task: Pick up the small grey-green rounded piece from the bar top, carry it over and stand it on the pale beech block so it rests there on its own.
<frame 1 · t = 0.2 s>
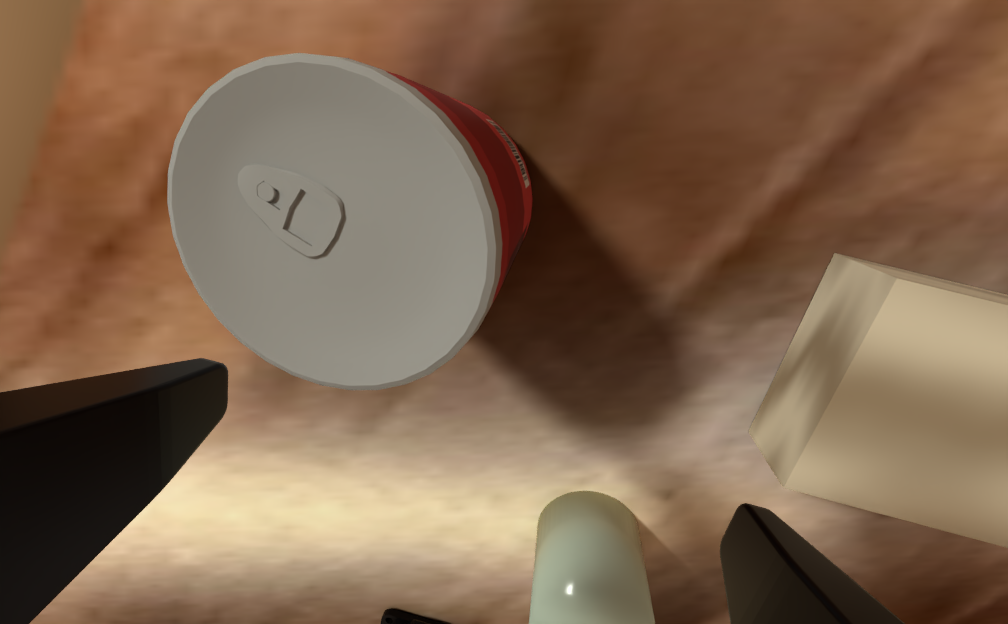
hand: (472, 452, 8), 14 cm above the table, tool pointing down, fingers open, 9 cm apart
grey-green rounded piece: (587, 531, 26), on the table
beech block: (889, 374, 21), on the table
canned food: (446, 194, 21), on the table
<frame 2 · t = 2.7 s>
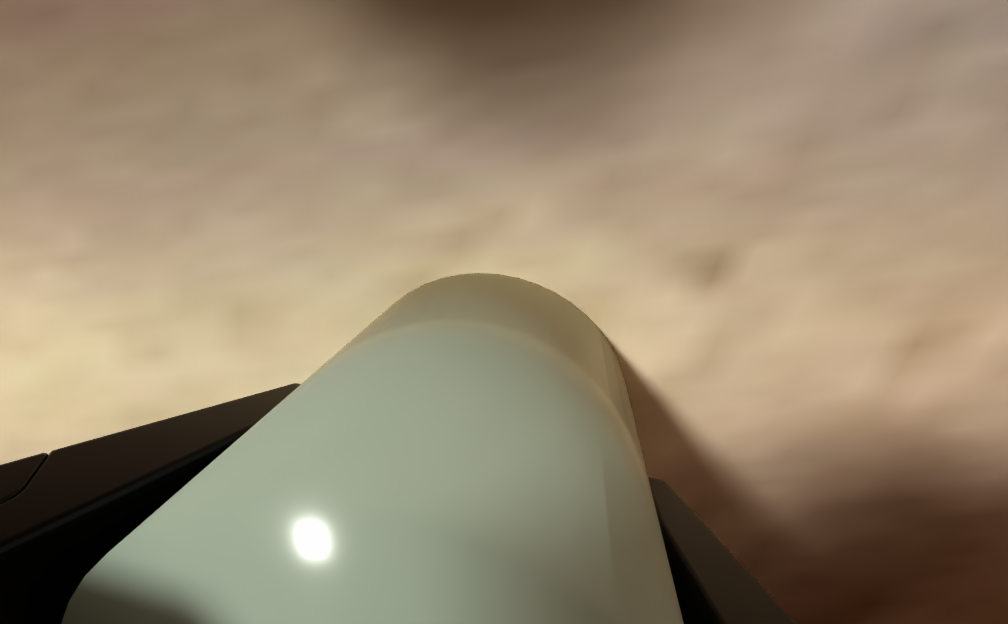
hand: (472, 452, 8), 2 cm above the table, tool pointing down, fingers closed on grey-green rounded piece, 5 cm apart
grey-green rounded piece: (486, 406, 10), on the table, touching gripper
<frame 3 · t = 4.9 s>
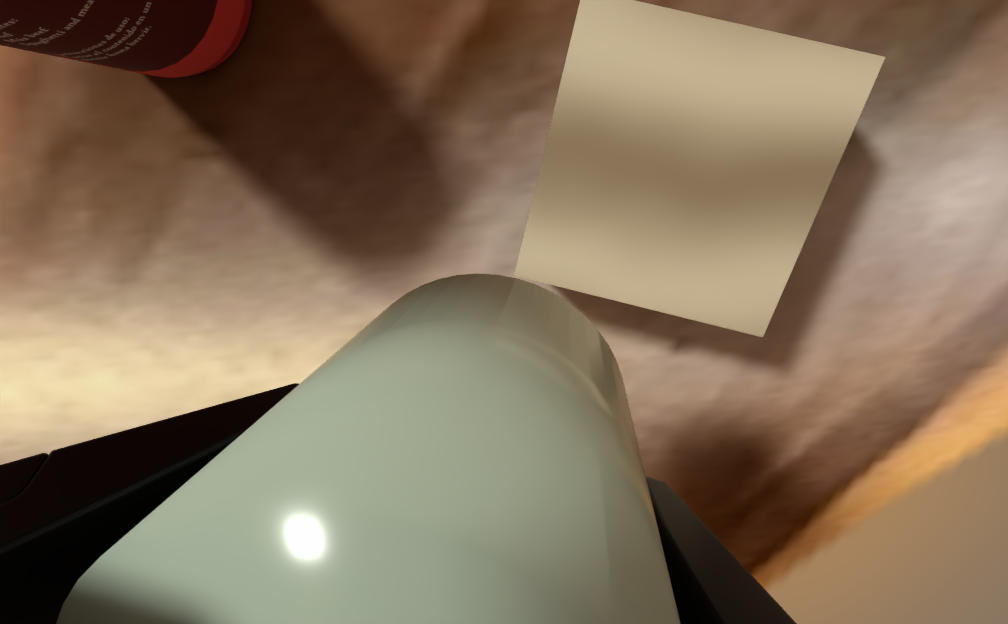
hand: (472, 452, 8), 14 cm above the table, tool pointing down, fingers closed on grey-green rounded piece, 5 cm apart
grey-green rounded piece: (485, 407, 9), point 12 cm above the table, touching gripper
beech block: (656, 174, 19), on the table
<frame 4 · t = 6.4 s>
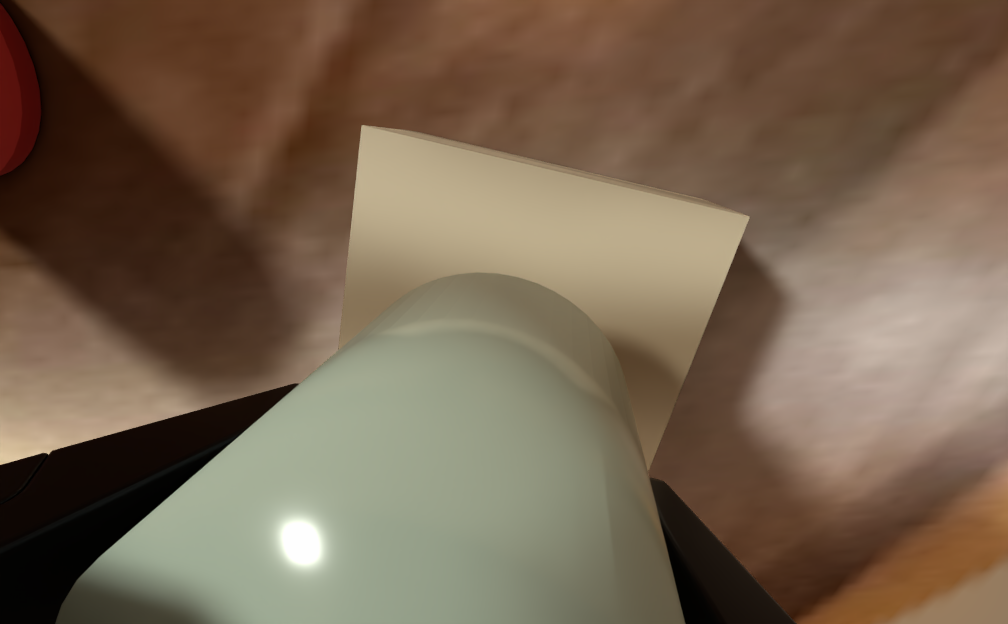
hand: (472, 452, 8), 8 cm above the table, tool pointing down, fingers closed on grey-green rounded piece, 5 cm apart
grey-green rounded piece: (486, 406, 9), point 7 cm above the table, touching gripper
beech block: (522, 300, 16), on the table
when the fingers open (6 cm above the table, at t = 7.3 s): grey-green rounded piece stays where it is, resting on beech block.
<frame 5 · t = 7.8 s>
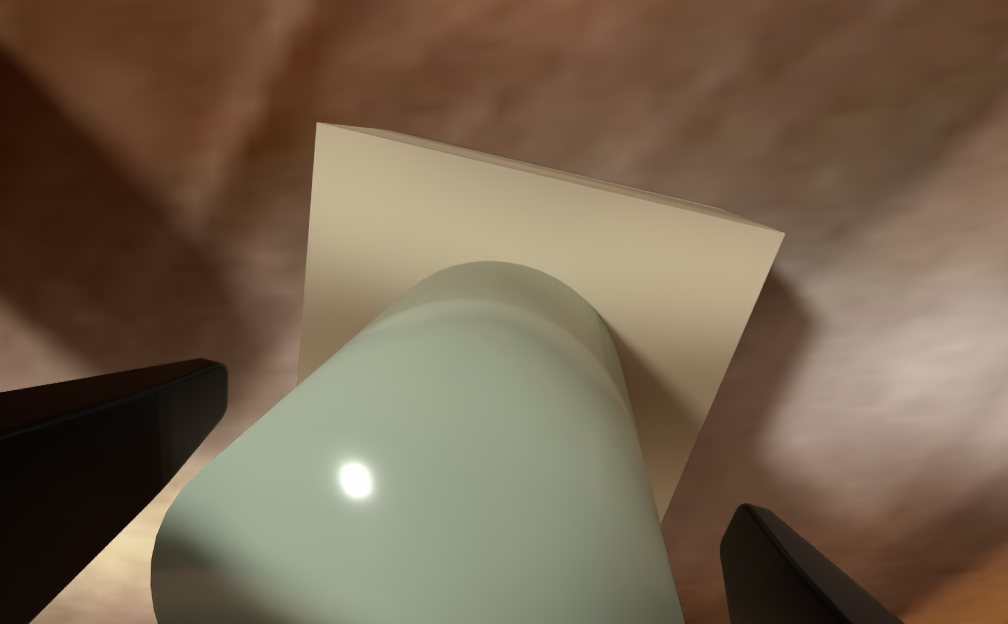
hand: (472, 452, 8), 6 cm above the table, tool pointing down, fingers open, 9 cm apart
grey-green rounded piece: (493, 383, 10), point 4 cm above the table, touching beech block
beech block: (514, 322, 14), on the table
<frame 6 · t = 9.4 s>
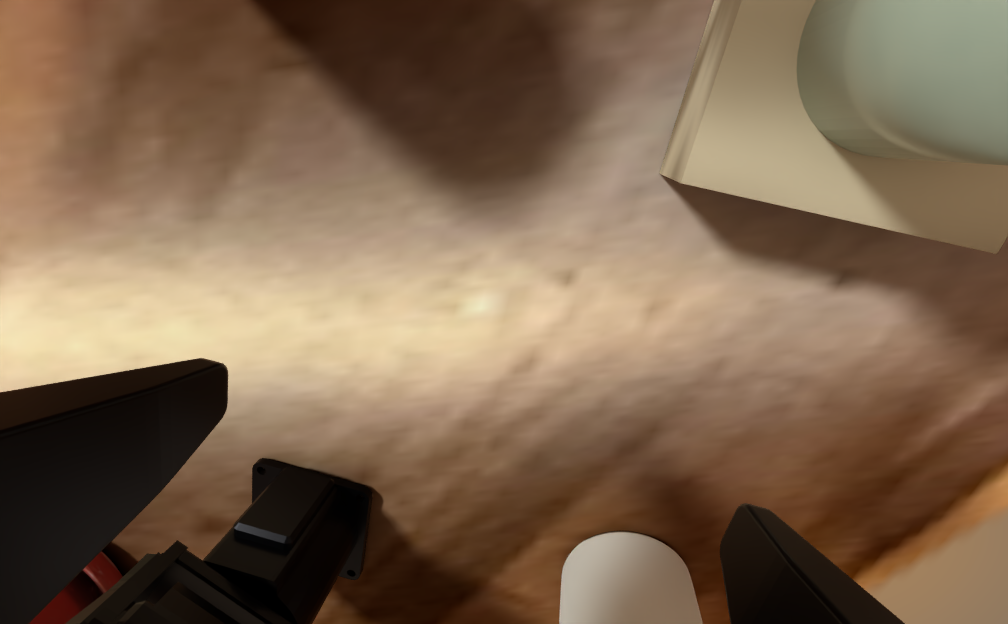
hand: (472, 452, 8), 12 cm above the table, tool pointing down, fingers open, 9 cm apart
grey-green rounded piece: (915, 43, 12), point 4 cm above the table, touching beech block
beech block: (836, 66, 16), on the table
plant pot: (68, 567, 32), on the table
can: (624, 571, 25), on the table
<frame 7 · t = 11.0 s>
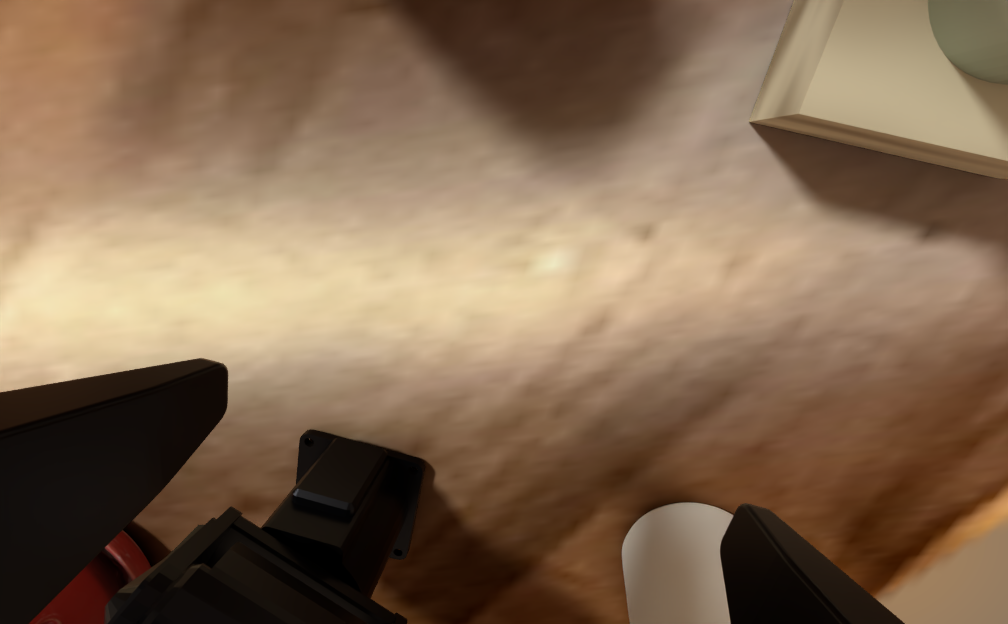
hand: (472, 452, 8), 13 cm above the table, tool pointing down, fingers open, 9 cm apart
beech block: (937, 9, 16), on the table
plant pot: (87, 554, 30), on the table
can: (685, 546, 24), on the table
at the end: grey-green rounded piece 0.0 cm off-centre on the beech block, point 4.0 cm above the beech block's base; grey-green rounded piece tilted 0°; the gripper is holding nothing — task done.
